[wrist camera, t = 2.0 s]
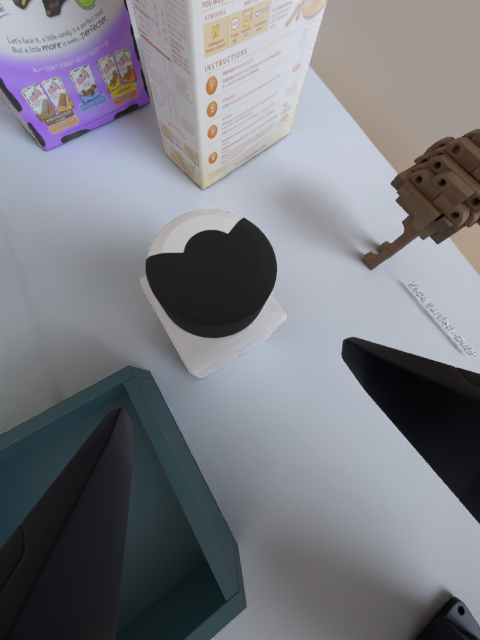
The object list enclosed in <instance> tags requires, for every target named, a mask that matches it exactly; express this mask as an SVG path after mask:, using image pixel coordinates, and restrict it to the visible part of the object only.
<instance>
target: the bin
mask: <svg viewBox="0 0 480 640" xmlns="http://www.w3.org/2000/svg"><path fill="white" fill-rule="evenodd" d="M117 407H123V408H124V409H125V411H126V412H127V414H128V416H129V418H130V419H131V421H132V426H133V473H132V484H131V494H130V503H129V513H128V523H127V532H126V542H125V552H124V561H123V571H122V581H121V590H120V600H119V610H118V619H117V629H116V639H115V640H210V639H212V638H213V637H214V636H215V635H216V634H217V633H218V632H219V631H220V630H222V629H223V628H224V627H225V626H226V625H227V624H228V623H229V622H230V621H232V620H233V619H234V618H235V617H236V616H237V615H238V614H239V613H241V612H242V611H243V610H244V609H245V608H246V607H247V606H246V598H245V591H244V584H243V577H242V570H241V563H240V556H239V549H238V545H237V543H236V541H235V539H234V537H233V535H232V533H231V531H230V529H229V527H228V525H227V523H226V521H225V519H224V517H223V515H222V513H221V511H220V509H219V507H218V505H217V503H216V501H215V499H214V497H213V495H212V493H211V491H210V489H209V487H208V485H207V483H206V481H205V479H204V477H203V475H202V473H201V471H200V469H199V467H198V465H197V463H196V461H195V459H194V457H193V455H192V453H191V451H190V450H189V448H188V446H187V444H186V442H185V440H184V438H183V436H182V434H181V432H180V430H179V428H178V426H177V424H176V422H175V420H174V418H173V416H172V414H171V412H170V410H169V408H168V406H167V404H166V402H165V400H164V398H163V396H162V394H161V392H160V390H159V388H158V386H157V384H156V382H155V380H154V378H153V376H152V374H151V372H150V371H147V370H143V369H139V368H135V367H132V366H127V367H125V368H124V369H122V370H120V371H118V372H116V373H114V374H112V375H111V376H109V377H107V378H105V379H103V380H101V381H100V382H98V383H96V384H94V385H92V386H90V387H88V388H87V389H85V390H83V391H81V392H79V393H77V394H76V395H74V396H72V397H70V398H68V399H66V400H64V401H63V402H61V403H59V404H57V405H55V406H53V407H52V408H50V409H48V410H46V411H44V412H42V413H40V414H39V415H37V416H35V417H33V418H31V419H29V420H28V421H26V422H24V423H22V424H20V425H18V426H16V427H15V428H13V429H11V430H9V431H7V432H5V433H4V434H2V435H0V548H1V547H2V546H3V544H4V543H5V542H6V541H7V539H8V538H9V537H10V536H11V534H12V533H13V532H14V531H15V529H16V528H17V527H18V525H19V524H22V521H23V519H24V518H25V517H26V515H27V514H28V513H29V512H30V510H31V509H32V508H33V507H34V505H35V504H36V503H37V501H38V500H39V499H40V498H41V496H42V495H43V494H44V493H45V491H46V490H47V489H48V487H49V486H50V485H51V484H52V482H53V481H54V480H55V479H56V477H57V476H58V475H59V473H60V472H61V471H62V470H63V468H64V467H65V466H66V465H67V463H68V462H69V461H70V459H71V458H72V457H73V456H74V454H75V453H76V452H77V451H78V449H79V448H80V447H81V446H82V444H83V443H84V442H85V440H86V439H87V438H88V437H89V435H90V434H91V433H92V432H93V430H94V429H95V428H96V426H97V425H98V424H99V423H100V421H101V420H102V419H103V418H104V416H105V415H106V414H107V412H108V411H109V410H111V409H114V408H117Z"/></svg>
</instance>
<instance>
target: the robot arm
mask: <svg viewBox="0 0 480 640" xmlns="http://www.w3.org/2000/svg"><path fill="white" fill-rule="evenodd" d="M342 358H343V360H344V362H345V363H346V365H347V366H348V367H349V369H350V370H351V372H352V373H353V375H354V376H355V377H356V379H357V380H358V382H359V383H360V384H361V386H362V387H363V388H364V390H365V391H366V392H367V393H368V395H369V396H370V397H371V398H372V399H373V400H374V402H375V403H376V404H377V405H378V406H379V407H380V409H381V410H382V411H383V412H384V413H385V414H386V415H387V417H388V418H389V419H390V420H391V421H392V422H393V424H394V425H395V426H396V427H397V428H398V429H399V431H400V432H401V433H402V434H403V435H404V436H405V438H406V439H407V440H408V441H409V442H410V443H411V445H412V446H413V447H414V448H415V449H416V450H417V451H418V453H419V454H420V455H421V456H422V457H423V458H424V460H425V461H426V462H427V463H428V464H429V465H430V467H431V468H432V469H433V470H434V471H435V472H436V474H437V475H438V476H439V477H440V478H441V479H442V481H443V482H444V483H445V484H446V485H447V486H448V488H449V489H450V490H451V491H452V492H453V493H454V494H455V496H456V497H457V498H459V501H460V502H461V503H462V504H463V505H464V506H465V507H466V509H467V510H468V511H469V512H470V513H471V514H472V516H473V517H474V518H475V519H476V520H477V521H478V523H479V524H480V374H478V373H475V372H471V371H468V370H464V369H461V368H455V367H454V366H451V365H447V364H444V363H441V362H437V361H434V360H430V359H427V358H424V357H420V356H417V355H413V354H410V353H407V352H403V351H400V350H397V349H393V348H390V347H386V346H383V345H380V344H376V343H373V342H370V341H366V340H363V339H359V338H356V337H350V338H347V339H344V341H343V346H342ZM132 473H133V426H132V421H131V419H130V418H129V416H128V414H127V412H126V411H125V409H124V408H123V407H117V408H114V409H111V410H109V411H108V412H107V414H106V415H105V416H104V418H103V419H102V420H101V421H100V423H99V424H98V425H97V426H96V428H95V429H94V430H93V432H92V433H91V434H90V435H89V437H88V438H87V439H86V440H85V442H84V443H83V444H82V446H81V447H80V448H79V449H78V451H77V452H76V453H75V454H74V456H73V457H72V458H71V459H70V461H69V462H68V463H67V465H66V466H65V467H64V468H63V470H62V471H61V472H60V473H59V475H58V476H57V477H56V479H55V480H54V481H53V482H52V484H51V485H50V486H49V487H48V489H47V490H46V491H45V493H44V494H43V495H42V496H41V498H40V499H39V500H38V501H37V503H36V504H35V505H34V507H33V508H32V509H31V510H30V512H29V513H28V514H27V515H26V517H25V518H24V519H23V521H22V524H19V525H18V527H17V528H16V529H15V531H14V532H13V533H12V534H11V536H10V537H9V538H8V539H7V541H6V542H5V543H4V544H3V546H2V547H1V548H0V640H115V639H116V629H117V619H118V610H119V600H120V590H121V581H122V571H123V561H124V552H125V542H126V532H127V523H128V513H129V503H130V494H131V484H132ZM458 607H459V608H458ZM416 640H480V627H479V625H478V624H477V622H476V621H475V619H474V617H473V616H472V614H471V613H470V611H469V610H468V608H467V607H466V605H465V604H464V603H463V602H462V601H461V600H459V599H458V598H457V597H452V598H451V599H450V600H449V601H448V602H447V603H446V605H445V606H444V607H443V608H442V609H441V610H440V612H439V613H438V614H437V615H436V616H435V617H434V619H433V620H432V621H431V622H430V623H429V624H428V626H427V627H426V628H425V629H424V630H423V631H422V633H421V634H420V635H419V636H418V637H417V638H416Z"/></svg>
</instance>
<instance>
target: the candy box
mask: <svg viewBox="0 0 480 640" xmlns="http://www.w3.org/2000/svg"><path fill="white" fill-rule="evenodd" d="M0 97H1V98H2V99H3V101H4V102H5V103H6V105H7V106H8V108H9V109H10V110H11V112H12V113H13V114H14V116H15V117H16V118H17V120H18V121H19V122H20V123H21V125H22V126H23V127H24V128H25V129H26V130H27V131H28V132H29V134H30V135H31V136H32V137H33V138H34V140H35V141H36V142H37V143H38V144H39V145H40V147H41V148H42V149H43V150H44V151H46V150H51V149H52V148H55V147H57V146H59V145H61V144H63V143H65V142H67V141H69V140H71V139H73V138H76V137H78V136H80V135H82V134H84V133H86V132H88V131H90V130H92V129H94V128H97V127H99V126H101V125H103V124H105V123H107V122H109V121H111V120H113V119H116V118H118V117H120V116H122V115H124V114H126V113H128V112H130V111H132V110H135V109H137V108H139V107H141V106H143V105H145V104H147V103H149V102H150V98H149V94H148V90H147V85H146V82H145V77H144V74H143V70H142V65H141V61H140V57H139V53H138V49H137V44H136V40H135V37H134V32H133V28H132V25H131V20H130V15H129V11H128V8H127V4H126V0H0Z"/></svg>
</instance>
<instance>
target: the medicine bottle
mask: <svg viewBox="0 0 480 640" xmlns="http://www.w3.org/2000/svg"><path fill="white" fill-rule="evenodd" d="M276 275H277V262H276V257H275V253H274V251H273V248H272V246H271V244H270V242H269V240H268V239H267V238H266V236H265V235H264V234H263V232H262V231H261V230H260V229H259V228H258V227H256V226H255V225H254V224H253V223H251V222H250V221H248V220H247V219H245V218H244V217H241V216H239V215H237V214H235V213H232V212H229V211H224V210H218V209H202V210H195V211H191V212H188V213H185V214H183V215H181V216H179V217H177V218H175V219H173V220H172V221H171V222H169V223H168V224H166V225H165V226H164V227H163V228H162V229H161V230H160V231H159V232H158V234H157V235H156V236H155V238H154V239H153V241H152V243H151V245H150V247H149V250H148V253H147V258H146V275H145V276H142V277H141V278H140V280H139V281H140V285H141V287H142V289H143V291H144V292H145V294H146V296H147V298H148V300H149V301H150V303H151V305H152V307H153V309H154V310H155V312H156V314H157V316H158V318H159V319H160V321H161V323H162V325H163V327H164V328H165V330H166V332H167V334H168V336H169V337H170V339H171V341H172V343H173V345H174V346H175V348H176V350H177V352H178V354H179V355H180V357H181V359H182V361H183V363H184V364H185V366H186V368H187V370H188V372H189V373H190V374H192V375H193V376H195V377H197V378H198V379H203V378H205V377H207V376H208V375H210V374H211V373H213V372H215V371H216V370H218V369H220V368H221V367H223V366H224V365H226V364H228V363H229V362H231V361H233V360H234V359H236V358H238V357H239V356H241V355H242V354H244V353H246V352H247V351H249V350H251V349H252V348H254V347H255V346H257V345H259V344H260V343H262V342H264V341H265V340H266V339H267V338H268V337H269V336H270V335H271V334H272V333H273V332H274V331H275V330H276V329H277V328H278V327H279V326H280V325H281V324H282V323H283V322H284V321H285V320H286V318H287V314H286V312H285V311H284V309H283V308H282V306H281V305H280V303H279V302H278V300H277V299H276V298H275V296H274V295H273V293H272V290H273V288H274V285H275V281H276Z"/></svg>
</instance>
